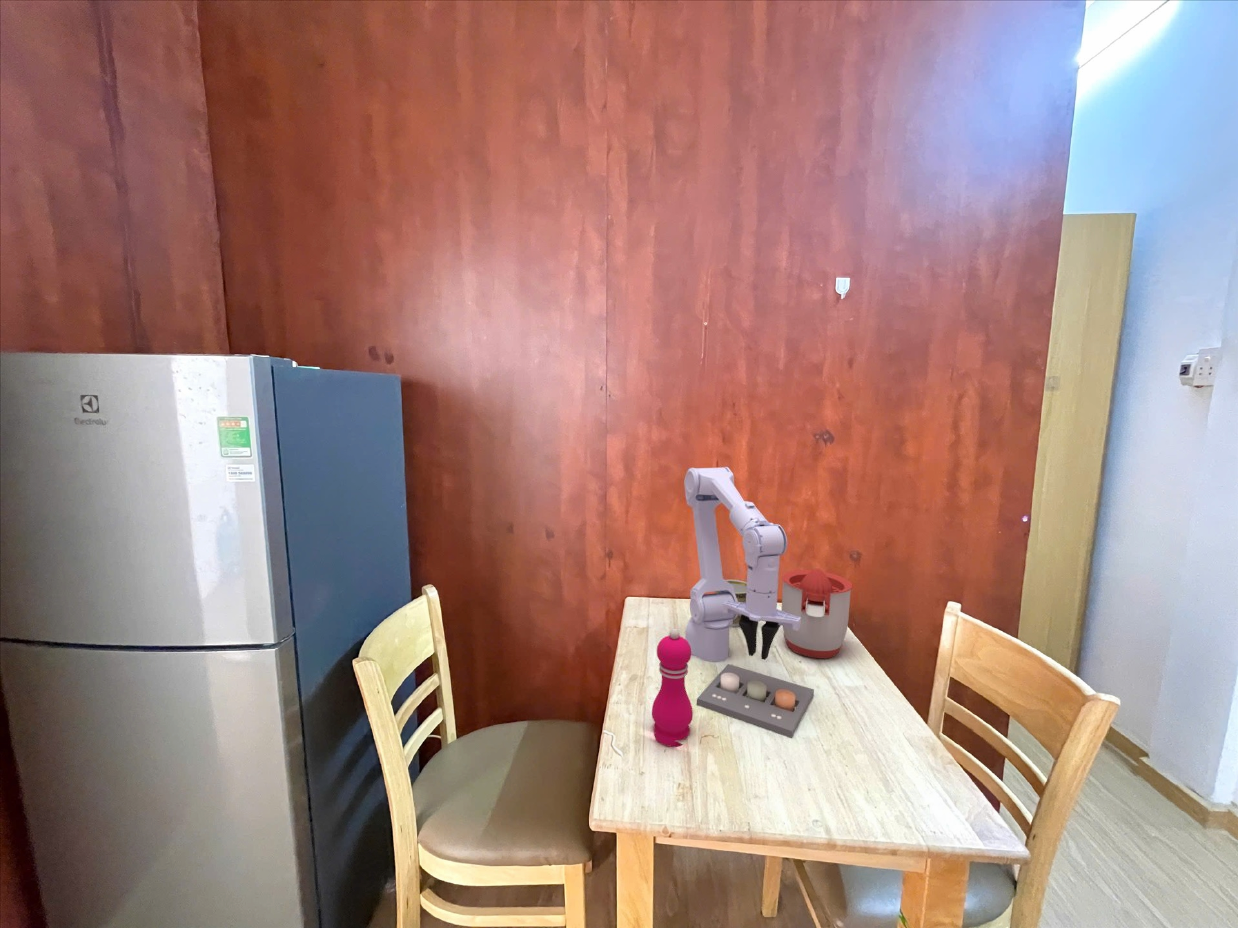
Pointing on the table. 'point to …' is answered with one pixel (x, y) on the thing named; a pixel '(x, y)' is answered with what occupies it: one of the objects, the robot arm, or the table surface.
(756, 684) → the button green
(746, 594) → the robot arm
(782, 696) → the button terracotta
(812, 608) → the citrus juicer
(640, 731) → the table surface
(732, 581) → the ceramic cup
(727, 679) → the button white
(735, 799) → the table surface
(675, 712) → the pepper mill
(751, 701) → the button panel
